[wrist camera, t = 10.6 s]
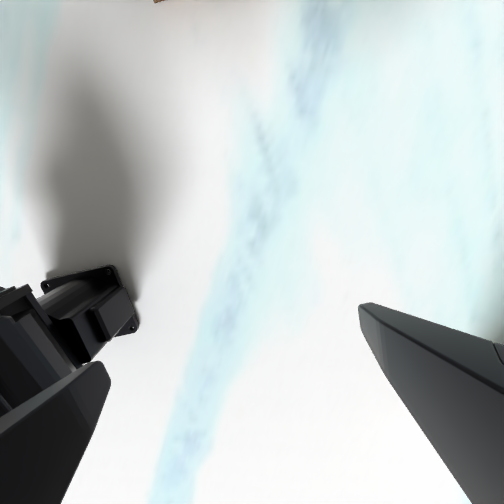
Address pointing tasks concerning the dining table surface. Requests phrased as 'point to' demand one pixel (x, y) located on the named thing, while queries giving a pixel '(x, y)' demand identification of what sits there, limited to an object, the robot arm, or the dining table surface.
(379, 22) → the dining table surface
